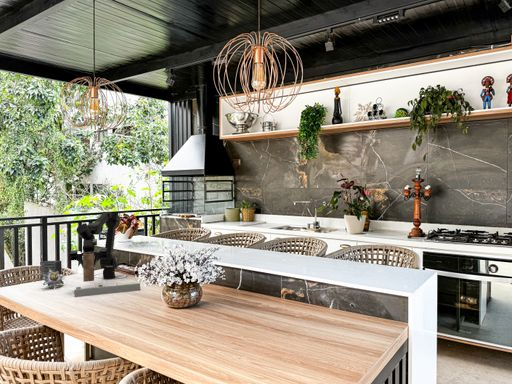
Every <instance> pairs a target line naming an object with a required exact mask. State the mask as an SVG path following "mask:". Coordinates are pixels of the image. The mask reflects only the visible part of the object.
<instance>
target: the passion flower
mask: <svg viewBox="0 0 512 384" xmlns="http://www.w3.org/2000/svg"><path fill="white" fill-rule="evenodd" d="M41 277H42V279H41V280H42V281H44V282H43V283H42V285H43V286H49V287H48V288H49V289H51V288H52V289H54V288H55V289H56V288H57V286H58V285H59V286H63V285H64V281H63V280H65V277H63V273H62V274H61V275H59V273H58V271H56V272H53V271H51V270H49V272H48V273H47V274H46V275H45V274H43V276H42V275H41V274H40V278H41ZM43 277H44V278H43Z"/></svg>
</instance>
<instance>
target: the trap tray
mask: <svg viewBox="0 0 512 384" xmlns="http://www.w3.org/2000/svg"><path fill="white" fill-rule="evenodd" d="M138 281H139V280H138ZM138 281H135V280H134V281H126V282H125V281H124V282H118V283H117V282H116V284H115V285H108V286H107V285H105V286H103V284H98V286H97V287H86V288H85V287H84V288H81V286H77V287H76V288H75V289H74V292H73V293H74V295H73V296H74V297H75V298H77V297H88V296H96V295H97V296H98V295H105V294H114V293H115V294H118V293H124V292H134V291H141V283H140V282H139V283H138Z"/></svg>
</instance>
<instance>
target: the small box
mask: <svg viewBox="0 0 512 384" xmlns="http://www.w3.org/2000/svg"><path fill="white" fill-rule="evenodd" d="M39 263H40V280H43V279H42V277H41V275H42V276H43V274H45V275H46V274H47V273H48V272H49V270H51V271H53V272H56V271H58V273H59V275H61V274H62V275H63V270H62V269H63V268H62V266H63V265H62V260H44V261H41V262H39ZM43 278H44V277H43Z"/></svg>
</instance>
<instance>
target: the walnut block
mask: <svg viewBox="0 0 512 384" xmlns="http://www.w3.org/2000/svg"><path fill="white" fill-rule="evenodd" d="M82 258H83V268H82V271H83V272H82V274H83V277H82V279H83V282H85V283H86V282H94V281H95V267H94V258H95V256H94V253H84V254H83V256H82Z"/></svg>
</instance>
